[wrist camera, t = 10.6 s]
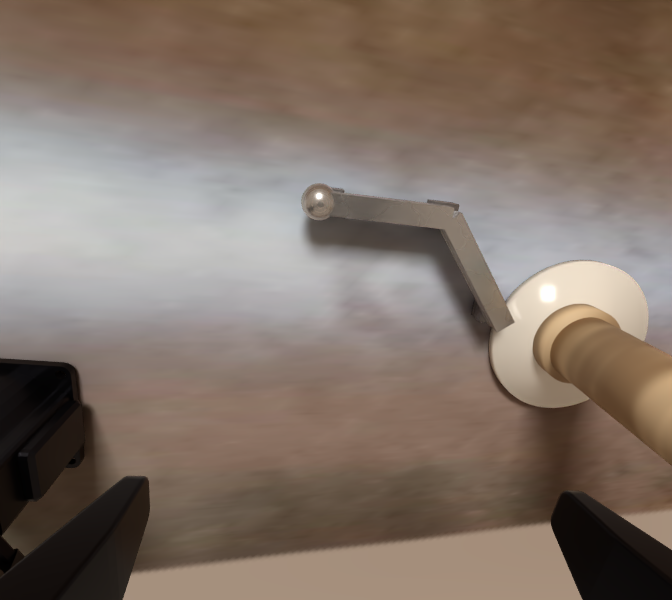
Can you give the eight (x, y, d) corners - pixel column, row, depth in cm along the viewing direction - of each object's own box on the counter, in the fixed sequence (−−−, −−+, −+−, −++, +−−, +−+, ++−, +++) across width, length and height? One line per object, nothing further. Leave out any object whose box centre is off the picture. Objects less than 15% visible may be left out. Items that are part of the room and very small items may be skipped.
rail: (291, 300, 20) (290, 317, 18) (302, 179, 18) (303, 182, 16) (492, 318, 22) (514, 336, 20) (522, 207, 20) (551, 213, 18)
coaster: (472, 397, 23) (476, 403, 23) (512, 251, 21) (518, 254, 20) (607, 405, 25) (614, 411, 24) (664, 268, 22) (673, 271, 21)
